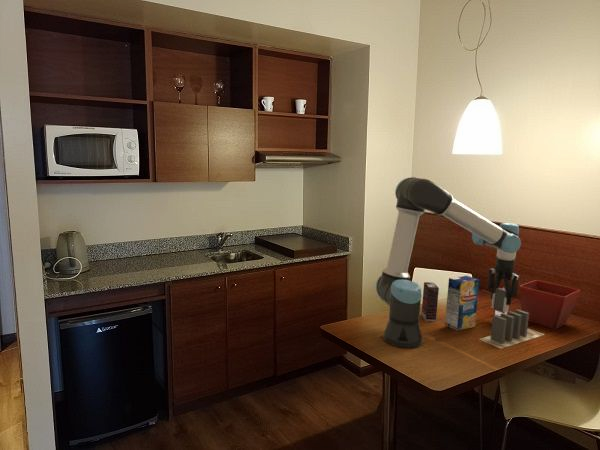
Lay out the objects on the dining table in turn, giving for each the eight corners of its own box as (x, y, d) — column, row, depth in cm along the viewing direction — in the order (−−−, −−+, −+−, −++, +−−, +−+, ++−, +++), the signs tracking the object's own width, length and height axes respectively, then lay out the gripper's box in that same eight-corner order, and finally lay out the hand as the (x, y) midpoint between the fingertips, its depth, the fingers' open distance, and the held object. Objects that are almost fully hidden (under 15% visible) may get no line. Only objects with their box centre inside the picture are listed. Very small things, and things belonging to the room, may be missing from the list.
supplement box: (436, 321, 197) (439, 287, 195) (425, 321, 197) (428, 287, 195) (431, 315, 206) (433, 282, 203) (420, 314, 206) (423, 281, 203)
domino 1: (503, 313, 193) (506, 291, 192) (493, 309, 197) (495, 288, 196) (505, 312, 194) (508, 290, 192) (495, 309, 198) (498, 287, 197)
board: (500, 351, 169) (500, 348, 168) (478, 341, 177) (478, 338, 177) (544, 336, 184) (545, 334, 184) (522, 328, 192) (522, 326, 192)
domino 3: (509, 341, 175) (512, 317, 174) (498, 337, 179) (500, 313, 178) (511, 340, 176) (514, 317, 175) (500, 336, 180) (503, 313, 179)
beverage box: (444, 327, 191) (448, 278, 188) (462, 323, 196) (466, 275, 193) (456, 332, 185) (461, 282, 182) (474, 328, 190) (479, 279, 187)
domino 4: (517, 339, 178) (519, 315, 176) (505, 334, 182) (508, 311, 180) (519, 338, 179) (522, 315, 177) (508, 334, 183) (510, 311, 181)
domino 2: (501, 344, 173) (504, 319, 171) (490, 339, 177) (492, 315, 175) (504, 343, 173) (506, 319, 172) (493, 338, 178) (495, 315, 176)
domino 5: (524, 337, 180) (526, 313, 179) (513, 332, 185) (515, 309, 183) (526, 336, 181) (529, 313, 180) (515, 332, 185) (517, 309, 184)
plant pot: (576, 325, 199) (581, 289, 196) (559, 335, 187) (564, 296, 184) (532, 313, 213) (536, 279, 211) (514, 321, 201) (518, 285, 198)
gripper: (530, 262, 186) (523, 314, 190) (492, 253, 202) (487, 302, 205) (520, 263, 182) (513, 317, 186) (482, 254, 198) (476, 304, 201)
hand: (499, 309), depth 195 cm, fingers closed on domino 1, 5 cm apart
